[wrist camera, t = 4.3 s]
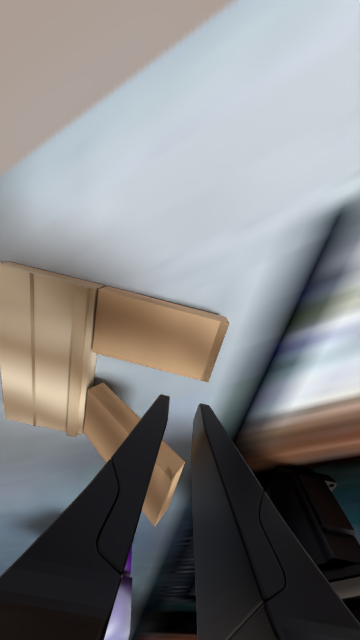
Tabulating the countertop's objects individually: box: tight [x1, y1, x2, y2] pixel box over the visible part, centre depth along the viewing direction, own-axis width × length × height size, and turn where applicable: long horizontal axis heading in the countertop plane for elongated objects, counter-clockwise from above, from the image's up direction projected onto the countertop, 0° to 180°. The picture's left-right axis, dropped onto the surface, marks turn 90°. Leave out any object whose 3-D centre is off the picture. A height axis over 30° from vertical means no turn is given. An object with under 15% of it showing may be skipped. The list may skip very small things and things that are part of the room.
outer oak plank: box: [92, 286, 229, 382], centre depth 14 cm, size 5×9×1 cm, turn 76°
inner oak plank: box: [84, 383, 185, 527], centre depth 15 cm, size 5×9×1 cm
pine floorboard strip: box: [0, 262, 105, 437], centre depth 16 cm, size 14×7×2 cm, turn 166°
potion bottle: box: [104, 538, 134, 640], centre depth 20 cm, size 9×9×12 cm
